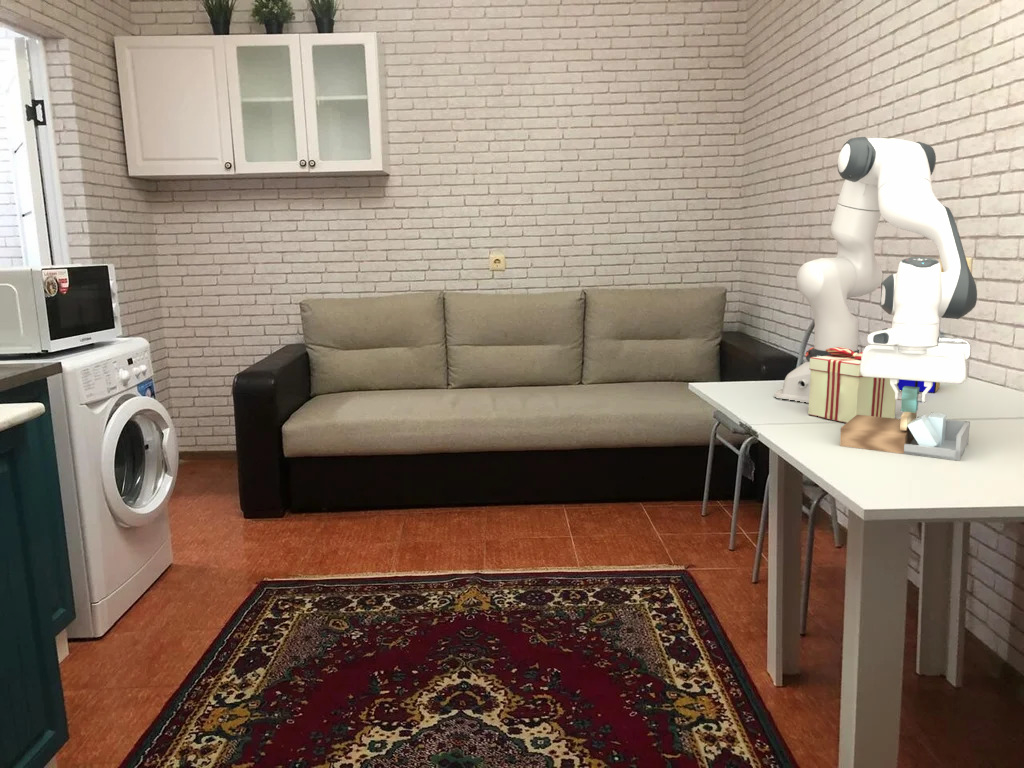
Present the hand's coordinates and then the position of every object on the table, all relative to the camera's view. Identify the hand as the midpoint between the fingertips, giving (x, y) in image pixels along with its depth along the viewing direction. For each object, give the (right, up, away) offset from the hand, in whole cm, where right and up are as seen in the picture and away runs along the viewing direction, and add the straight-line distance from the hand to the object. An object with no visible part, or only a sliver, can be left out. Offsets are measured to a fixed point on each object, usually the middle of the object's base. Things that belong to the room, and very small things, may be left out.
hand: (910, 400), depth 164 cm
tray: (+5, -10, -2) cm, 11 cm away
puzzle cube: (+34, +2, +62) cm, 71 cm away
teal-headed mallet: (0, -5, +1) cm, 5 cm away
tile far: (+5, -6, +2) cm, 8 cm away
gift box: (+1, -5, +30) cm, 31 cm away
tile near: (0, -7, -3) cm, 8 cm away
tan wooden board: (-4, -9, +5) cm, 11 cm away
